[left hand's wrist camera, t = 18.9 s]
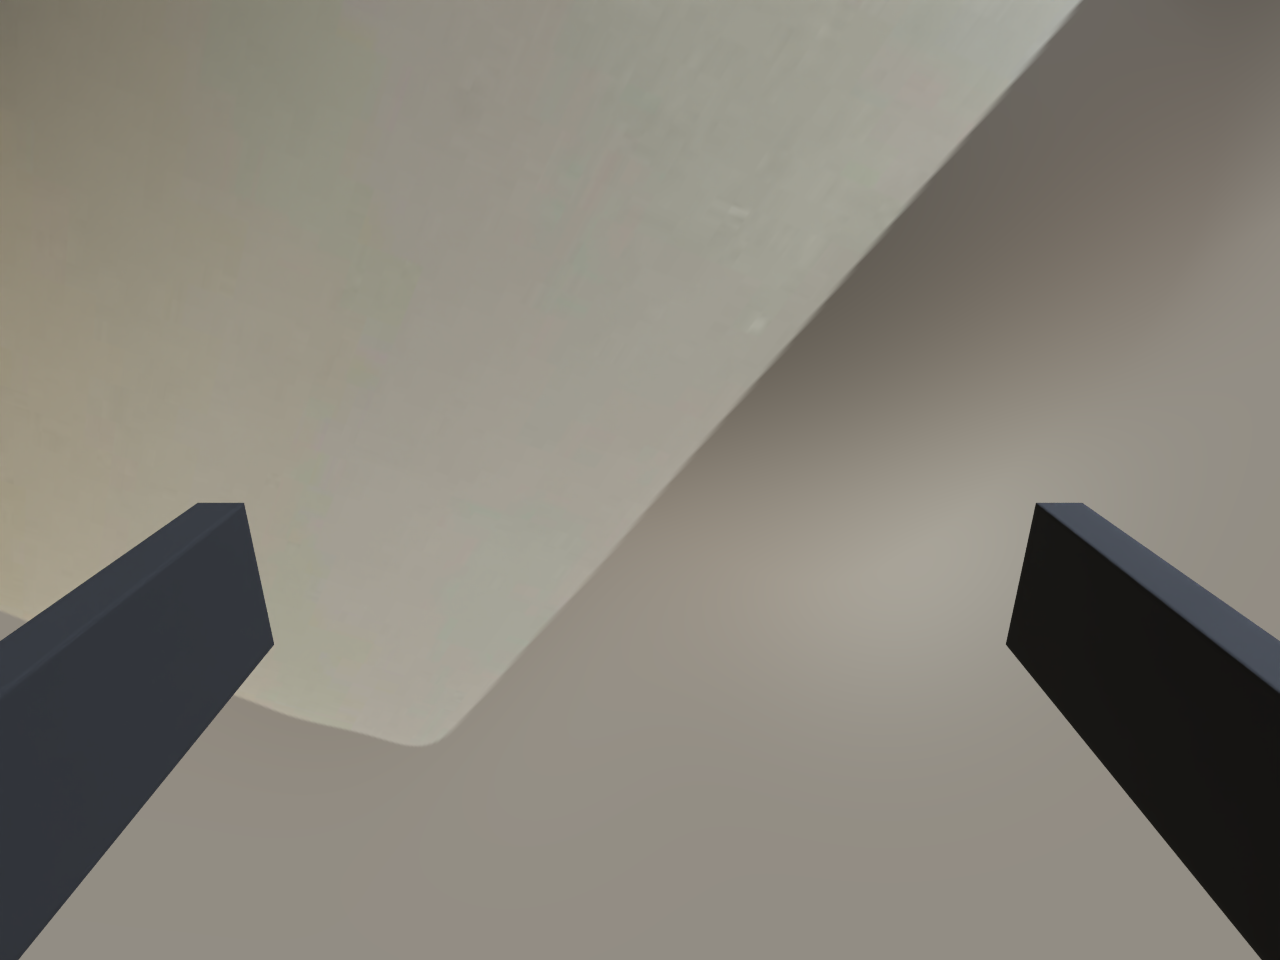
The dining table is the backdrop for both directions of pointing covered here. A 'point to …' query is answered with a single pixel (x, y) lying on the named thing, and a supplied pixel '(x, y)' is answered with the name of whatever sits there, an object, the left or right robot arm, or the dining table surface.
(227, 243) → the dining table surface
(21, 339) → the dining table surface
